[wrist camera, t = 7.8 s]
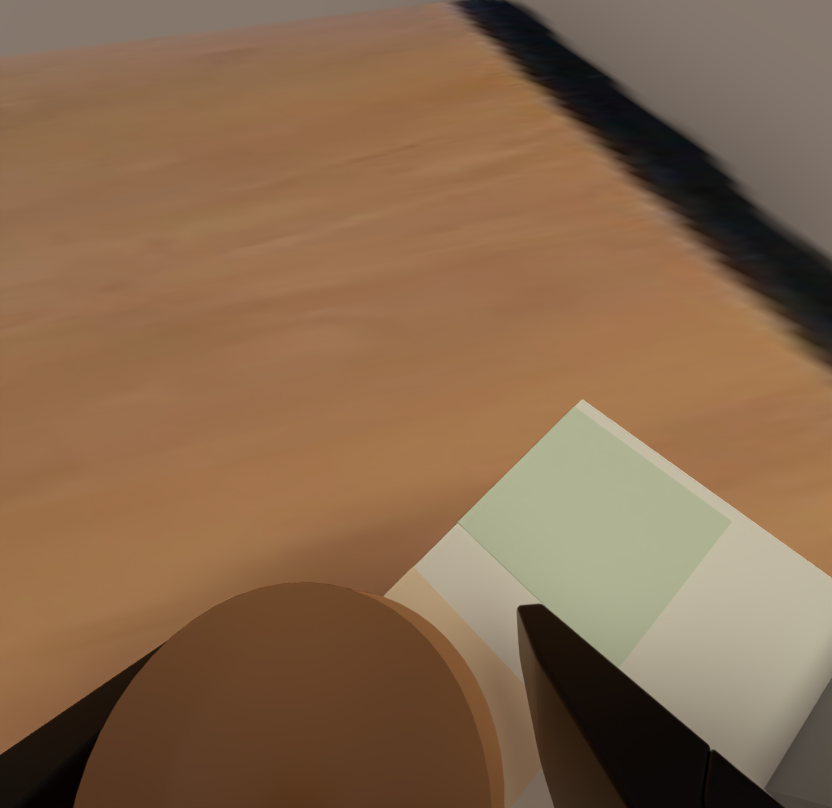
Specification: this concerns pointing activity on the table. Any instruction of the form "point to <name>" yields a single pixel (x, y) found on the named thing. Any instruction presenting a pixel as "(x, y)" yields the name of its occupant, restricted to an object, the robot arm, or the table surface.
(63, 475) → the table surface
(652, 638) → the sheet
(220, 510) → the table surface
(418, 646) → the tan cylindrical piece
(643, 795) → the robot arm
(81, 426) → the table surface
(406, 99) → the table surface
